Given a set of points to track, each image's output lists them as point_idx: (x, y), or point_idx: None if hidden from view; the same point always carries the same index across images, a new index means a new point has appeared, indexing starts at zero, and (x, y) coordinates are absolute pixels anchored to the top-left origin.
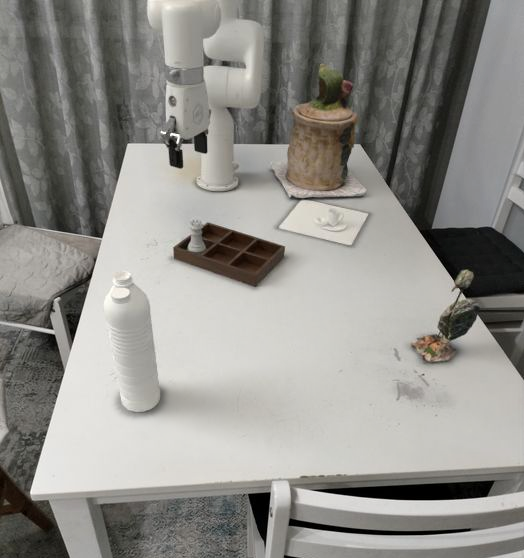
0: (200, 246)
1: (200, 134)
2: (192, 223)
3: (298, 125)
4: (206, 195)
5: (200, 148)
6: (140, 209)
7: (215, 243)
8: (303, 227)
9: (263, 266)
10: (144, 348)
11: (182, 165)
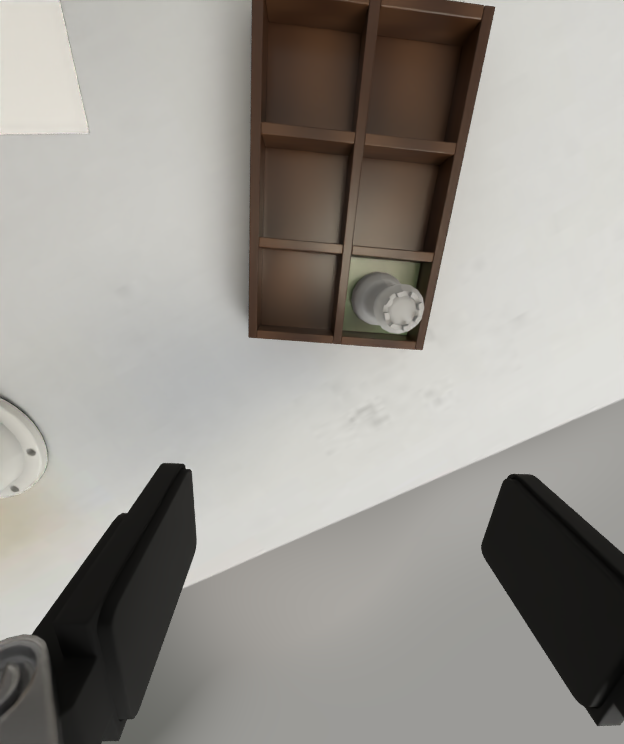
0: (394, 282)
1: (99, 689)
2: (417, 317)
3: None
4: (72, 432)
5: (182, 529)
6: (242, 515)
7: (354, 251)
8: (14, 27)
9: (428, 3)
10: None
11: (536, 485)
